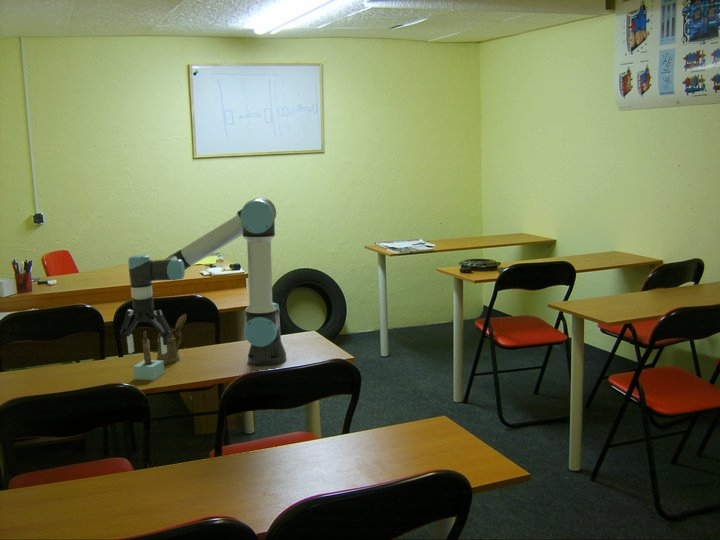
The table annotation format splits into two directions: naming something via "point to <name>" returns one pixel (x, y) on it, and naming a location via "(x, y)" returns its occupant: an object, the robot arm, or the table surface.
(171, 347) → the wooden mug
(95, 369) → the table surface
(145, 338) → the brown stepped rod
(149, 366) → the bead
